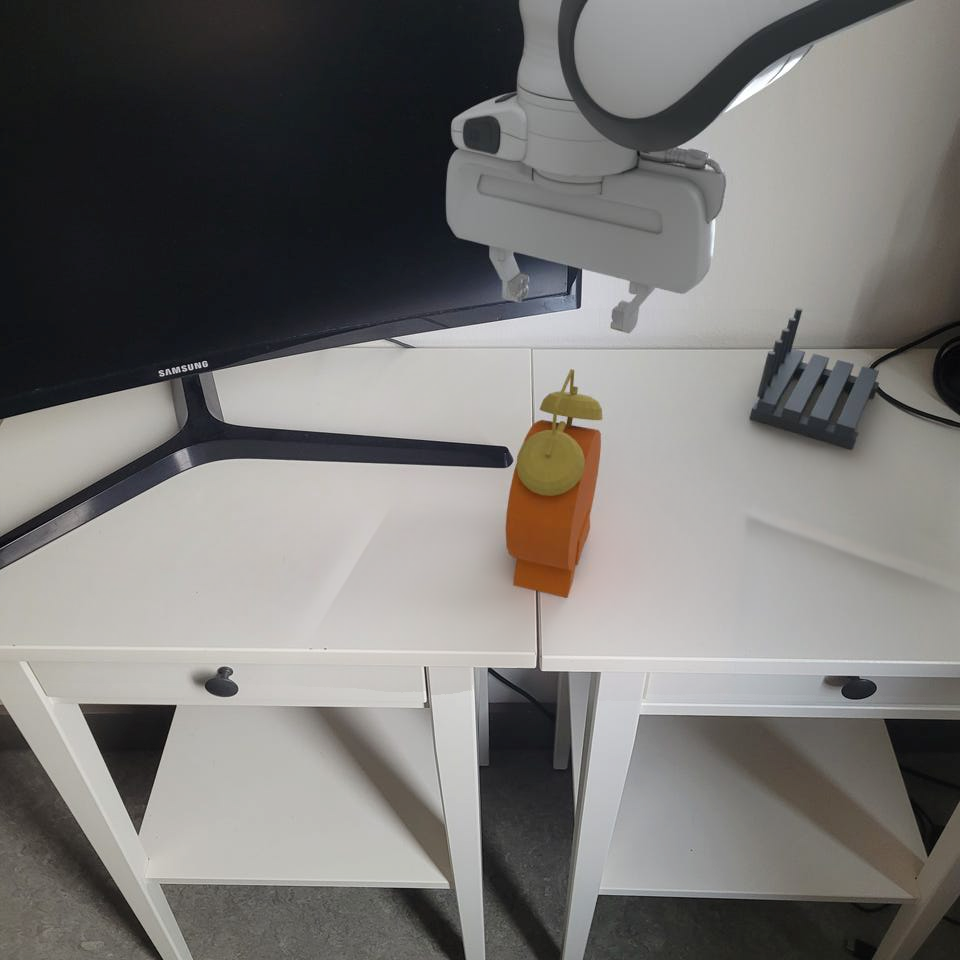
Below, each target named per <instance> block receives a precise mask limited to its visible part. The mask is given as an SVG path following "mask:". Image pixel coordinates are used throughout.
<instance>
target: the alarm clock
mask: <svg viewBox="0 0 960 960" xmlns="http://www.w3.org/2000/svg"><path fill="white" fill-rule="evenodd" d="M574 383H575V369H572V368H570V370H569V372H568V373H567V376H566V379H565V381H564V383H563V385H562V388H561V390H560V391H555V392H550V393H548V395H546V396H545V397H544V398H543V399H542V402H541V404H540V406H539V411H541V412H544V413H547V414H551V415H552V421H551V420H546V419H541V420H537V421H535V422H534V423H533V424H532V425H531V427H530V428H529V430H528V432H527V434H526V436H525V437H524V439H523V443H522V444H521V447H520V449H519V451H518V453H517V456H516V463H515V467H514V471H513V475H512V479H511V484H510V488H509V494H508V500H507V508H506V518H505V545H506V549H507V551H508V555H509V556H510V557H511V558H513V559H516V562H515V569H514V577H513V584H512V585H513V586H516V587H520V588H524V589H529V590H534V591H537V592H541V593H545V594H550V595H554V596H559V597H562V598H567V599H568V597H569V595H570V591H571V588H572V586H573V582H574V577H575V571H576V566H578V564H579V561H580V558H581V555H582V553H583V549H584V546H585V543H586V541H587V539H588V537H589V536H588V535H589V532H590V529H591V512H592V507H593V502H594V497H595V492H596V486H597V481H598V476H599V475H598V474H599V468H600V460H601V448H602V446H601V445H602V434H601V431H600V430H599V429H595V428H591V427H584V426H579V425H573V419H577V420H578V419H580V420H587V421H602V420H603V409H602V406H601V404H600V403H599V400H597V399H595V398H593V397H592V396H590V395H586V394H580V393H578V390H579V386H574ZM568 385H569V392H568V391H566V389H567V387H568ZM558 416H559V417H560V416H561V417H566V422H565V421H564V420H561V421H559V422H557V420H558V419H557V418H558Z"/></svg>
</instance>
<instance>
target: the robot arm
mask: <svg viewBox="0 0 960 960" xmlns="http://www.w3.org/2000/svg"><path fill="white" fill-rule="evenodd" d="M914 1H915V0H518V9H519V14H520V19H521V23H522V28H523V38H524V39H523V49H522V55H521V59H520V61H519V66H518V69H517V76H516V91H513V92H509V93H504V94H501V95H498V96H495V97H492V98H490V99H487V100H484V101H483V102H480V103H478V104H476V105H474V106H472V107H470V108H468V109H466V110H464V111H463V112H461V113H460V114H458V115H457V116H455V117H454V118H453V119H452V121H451V125H450V134H451V135H450V136H451V141H452V143H453V145H454V146H455V147H456V148H458V149H456V150H455V151H454V152H453V153H452V155H451V156H450V159H449V160H448V165H447V171H446V183H445V184H446V185H445V214H446V222H447V225H448V226H449V228H450V229H451V231H452V233H453V234H454V236H455V237H456V238H458V239H461V240H465V241H470V242H473V243H477V244H481V245H486V246H488V249H489V252H488V255H489V257H488V258H489V260H490V261H491V263H492V265H493V267H494V269H495V271H496V273H497V275H498V277H499V279H500V280H501V298H502V299H504V300H507V301H510V302H515V303H518V304H519V303H521V302H523V301H522V300H525V299H526V298H527V296H528V294H529V286H528V285H529V283H530V276H529V275H528V274H524V273H522V272H521V271H520V269H519V265H518V263H517V261H516V259H515V256H514V253H517V254H521V255H525V256H529V257H532V258H537V259H541V260H544V261H547V262H548V261H549V262H552V263H557V264H561V265H564V266H568V267H572V268H576V269H580V270H583V271H588V272H592V273H597V274H600V275H603V276H608V277H612V278H615V279H620V280H624V281H628V282H629V286H628V293H629V294H631V295H635V296H634V297H633V299H632V300H631V301H627V300H623V299H622V300H620V302H618V304H617V305H616V306H614V307H613V308H612V310H611V317H610V318H611V320H612V321H611V322H610V329H612V330H614V331H618V332H622V333H625V334H630V333H631V332H633V331H634V330H635V328H636V326H637V324H638V318H639V314H640V313H639V312H640V307H641V306H642V305H643V304H644V303H645V301H646V300H647V299H648V297H650V295H652V293H653V292H654V291H655V290H656V289H658V290H663V291H666V292H667V291H668V292H671V293H674V294H680V295H684V294H687V293H688V292H690V291H691V290H693V289H694V288H695V287H697V286H698V285H699V284H700V283H701V282H702V281H703V280H704V279H705V278H706V276H707V275H708V273H709V271H710V269H711V267H712V262H713V255H714V247H715V235H716V218H717V217H718V216H719V215H720V213H721V211H722V209H723V207H724V201H725V196H726V191H727V175H726V173H725V171H724V169H723V168H722V166H721V165H720V164H719V162H717V161H715V160H714V159H712V158H710V153H709V152H707V151H706V150H703V149H699V148H691V147H690V148H689V147H688V148H685V147H683V148H682V147H680V146H683V145H684V144H687V143H688V142H690V141H691V140H693V139H694V138H695V137H697V136H699V135H700V134H701V133H702V132H704V131H705V130H706V129H707V128H709V127H710V126H711V125H713V124H714V123H715V122H716V121H717V120H719V119H720V118H721V117H722V116H723V115H724V114H725V113H726V112H728V111H729V110H731V109H734V108H735V107H736V106H738V105H739V104H741V103H742V102H744V101H745V100H747V99H748V98H750V97H751V96H753V95H754V94H756V93H758V92H760V91H761V90H763V89H764V88H766V87H767V86H769V85H770V84H772V83H773V82H775V81H776V80H778V79H779V78H780V77H782V76H783V75H784V74H786V73H787V72H789V71H790V70H791V69H792V68H793V67H794V66H795V65H796V64H798V63H799V62H800V61H802V60H803V58H805V56H806V55H807V54H809V52H810V50H811V49H812V48H813V47H814V45H816V44H817V43H820V42H822V41H825V40H827V39H829V38H832V37H834V36H836V35H838V34H842V33H843V32H845V31H848V30H851V29H852V28H855V27H856V26H859V25H861V24H864V23H866V22H869V21H871V20H872V19H875V18H877V17H879V16H882V15H885V14H886V13H888V12H891V11H893V10H896V9H898V8H900V7H902V6H905V5H907V4H909V3H912V2H914ZM707 166H709V167H710V168H707Z"/></svg>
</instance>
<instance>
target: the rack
mask: <svg viewBox="0 0 960 960" xmlns="http://www.w3.org/2000/svg"><path fill="white" fill-rule="evenodd" d="M802 313H803V308H802V307H795V310H794V314H793V317H789V318H788V322H787V325H786V327H785V328H783V329H781V332H780V337H779V339H775V341H774V344H773V347H772V348H773V349H772V350H769V351H768V352H767V354H766V359H765V363H764V366H763V369H762V370H763V371H762V374H761V378H760V382H759V386H758V390H757V394H756V396H757V398H758V400H757V402H755V403H754V404H753V407H752V408H751V410H750V414H749V419H750V420H752V421H755V422H758V423H762V424H765V425H769V426H772V427H776V428H779V429H782V430H786V431H789V432H792V433H795V434H798V435H802V436H806V437H809V438H812V439H815V440H818V441H822V442H825V443H829V444H832V445H835V446H839V447H842V448H844V449H848V450H853V449H854V446H855V444H856V442H857V439H858V437H859V434H860V433H859V432H858V431H855V430H856V428H857V426H858V423H859V421H860V419H861V416H862V414H863V412H864V410H865V407H866V405H867V402H868V400H869V399H872V400H873V399H874V398H875V396H876V394H877V391H878V388H879V385H880V382H878V381H876V380H877V378H878V376H879V372H880V370H878V369H874V368H871V367H866V366H861V368H860V371H859V373H858V375H857V376H856V375H851V374H852V372H853V368H854V366H855V365H854V363H852V362H847V361H843V360H840V359H838V360H837V361H836V362H835V364H834V366H833V368H832V369H829V368H827V367H828V364H829V361H830V357H828V356H824V355H821V354H817V353H812V355H811V357H810V359H809V361H808V363H807V362H804V357H805V355H806V351H804V350H800V349H797V348H793V345H794V342H795V338H796V335H797V332H798V328H799V324H800V321H801V316H802ZM794 378H796V379H798V381H797V383H796V385H795V386H794V388H793V390H792V392H791V393H790V395H789V397H788V399H787V401H786V402H785V405H784V406H783V409H781V408H777V407H778V406H779V404H780V403H781V401H782V399H783V397H784V395H785V394H786V391H787V390H788V388H789V386H790V384H791V383H792V381H793V379H794ZM818 385H821V386H824V387H823V389H822V390H821V392H820V394H819V396H818V398H817V400H816V402H815V404H814V406H813V408H812V410H811V412H810V414H809V416H808V417H807V416H803V414H804V412H805V410H806V408H807V406H808V404H809V402H810V401H811V398H812V396H813V395H814V392H815V391H816V389H817V387H818ZM843 392H847V393H849V395H848V397H847V399H846V402H845V404H844V406H843V408H842V410H841V412H840V415H839V417H838V419H837V422H836V423H835V425H834V424H832V423H829V421H830V419H831V417H832V416H833V413H834V411H835V408H836V407H837V404H838V402H839V401H840V398H841V396H842V393H843Z"/></svg>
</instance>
